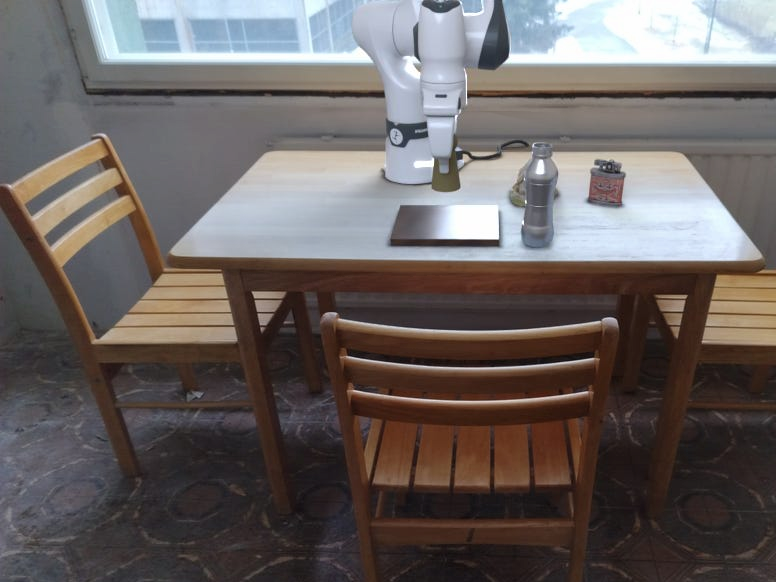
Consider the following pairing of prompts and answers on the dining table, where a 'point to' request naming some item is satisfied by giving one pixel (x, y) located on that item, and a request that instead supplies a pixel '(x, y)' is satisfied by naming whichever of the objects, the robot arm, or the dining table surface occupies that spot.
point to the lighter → (606, 183)
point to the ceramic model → (521, 188)
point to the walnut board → (446, 225)
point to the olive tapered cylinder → (450, 179)
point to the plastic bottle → (539, 196)
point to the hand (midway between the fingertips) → (445, 167)
